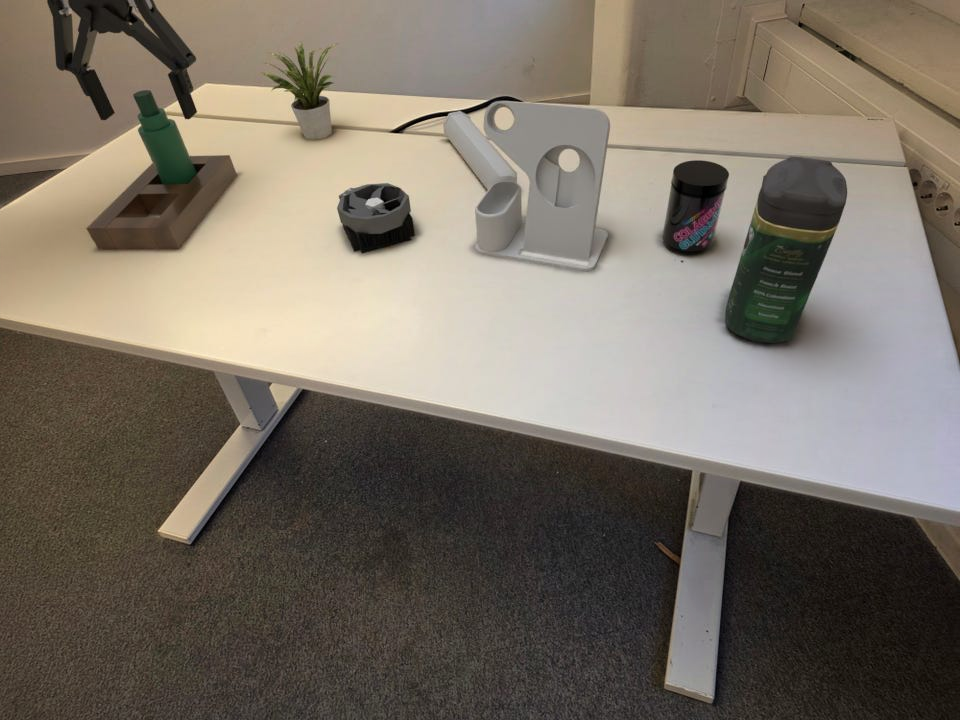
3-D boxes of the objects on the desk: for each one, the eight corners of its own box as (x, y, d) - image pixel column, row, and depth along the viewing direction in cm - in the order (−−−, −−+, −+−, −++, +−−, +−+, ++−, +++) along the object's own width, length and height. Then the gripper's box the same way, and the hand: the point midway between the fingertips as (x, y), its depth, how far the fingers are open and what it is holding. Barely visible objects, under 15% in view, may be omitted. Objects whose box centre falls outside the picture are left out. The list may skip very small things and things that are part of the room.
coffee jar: (793, 353, 67) (855, 202, 54) (719, 337, 69) (761, 190, 57) (798, 301, 73) (854, 154, 60) (729, 288, 76) (769, 145, 63)
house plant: (334, 111, 125) (313, 24, 114) (372, 129, 117) (355, 38, 106) (272, 135, 118) (244, 45, 107) (309, 155, 111) (283, 61, 99)
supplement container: (658, 253, 82) (670, 182, 75) (663, 227, 86) (675, 158, 79) (710, 260, 80) (728, 188, 73) (713, 232, 85) (730, 162, 77)
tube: (527, 173, 92) (473, 112, 109) (496, 169, 90) (446, 108, 107) (517, 205, 96) (466, 141, 113) (487, 202, 93) (440, 138, 110)
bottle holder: (99, 251, 92) (85, 228, 89) (168, 177, 108) (158, 156, 105) (180, 251, 90) (168, 227, 87) (237, 176, 106) (229, 155, 104)
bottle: (164, 204, 101) (115, 101, 89) (179, 187, 105) (133, 86, 93) (196, 203, 100) (150, 100, 88) (209, 187, 104) (168, 85, 92)
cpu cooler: (416, 206, 84) (345, 224, 82) (421, 241, 88) (354, 260, 85) (395, 175, 91) (329, 191, 89) (401, 208, 95) (338, 225, 93)
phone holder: (470, 253, 85) (459, 127, 72) (495, 216, 91) (489, 95, 79) (592, 274, 79) (602, 142, 67) (609, 233, 86) (622, 106, 74)
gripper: (183, -58, 80) (235, 105, 95) (9, -50, 82) (87, 107, 97) (156, -45, 74) (216, 125, 89) (-29, -38, 77) (60, 127, 92)
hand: (149, 116), depth 93 cm, fingers open, 13 cm apart
